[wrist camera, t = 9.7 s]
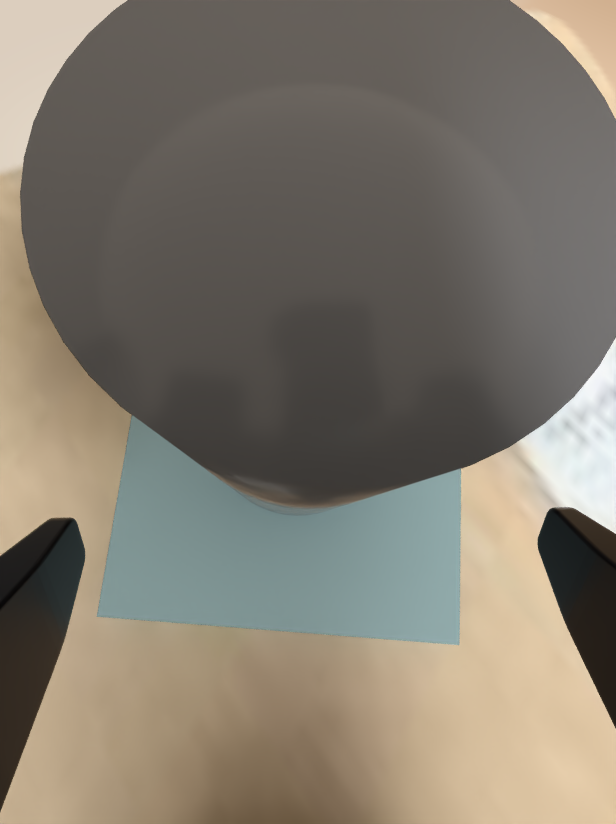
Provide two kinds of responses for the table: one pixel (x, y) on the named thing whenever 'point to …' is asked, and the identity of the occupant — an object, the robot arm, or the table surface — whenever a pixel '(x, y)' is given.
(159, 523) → the slate board
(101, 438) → the table surface
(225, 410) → the grey domed cylinder
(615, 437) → the table surface
